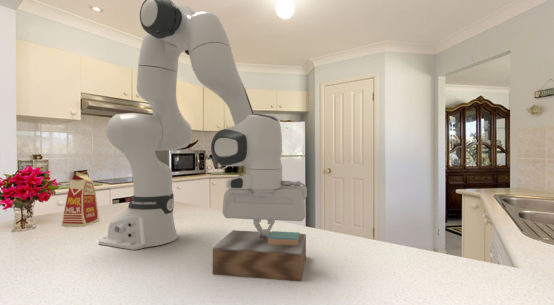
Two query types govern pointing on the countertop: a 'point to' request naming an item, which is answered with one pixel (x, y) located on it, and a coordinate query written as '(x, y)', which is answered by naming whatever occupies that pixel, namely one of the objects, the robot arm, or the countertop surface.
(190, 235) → the countertop surface
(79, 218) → the milk carton
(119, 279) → the countertop surface
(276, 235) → the tile
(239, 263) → the board
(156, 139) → the robot arm
